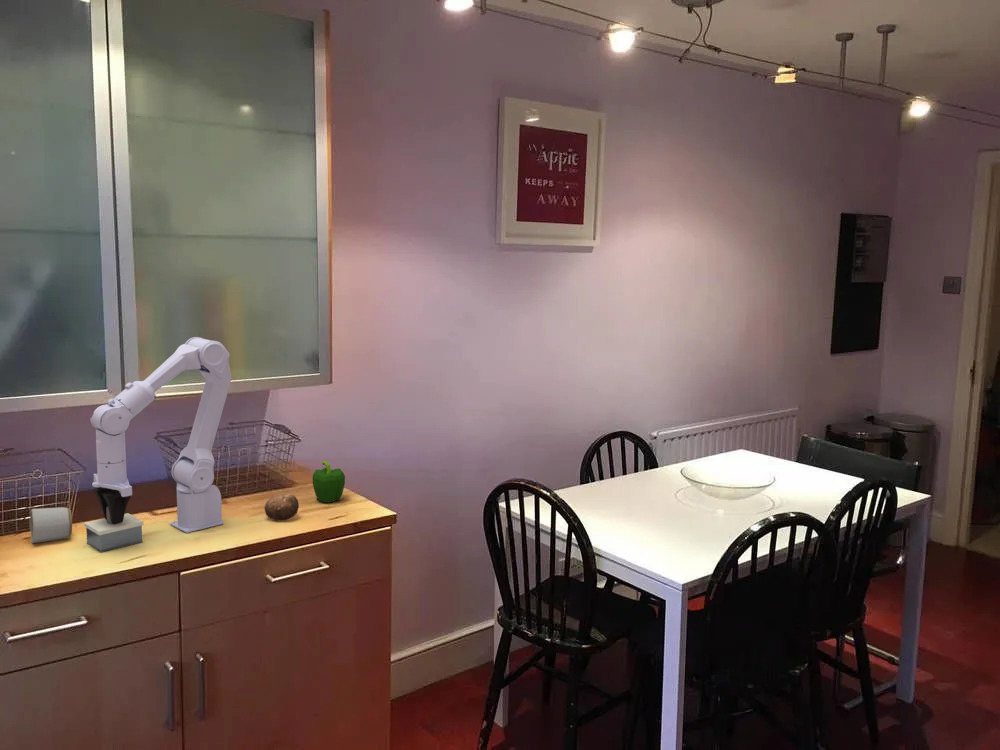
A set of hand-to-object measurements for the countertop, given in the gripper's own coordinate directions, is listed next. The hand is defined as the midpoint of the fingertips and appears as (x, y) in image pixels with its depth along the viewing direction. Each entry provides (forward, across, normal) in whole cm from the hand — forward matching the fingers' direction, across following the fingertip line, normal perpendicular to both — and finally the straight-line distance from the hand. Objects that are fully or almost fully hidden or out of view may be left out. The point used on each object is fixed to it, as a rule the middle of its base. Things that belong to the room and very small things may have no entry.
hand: (113, 520), depth 182 cm
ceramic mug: (+5, -13, -9) cm, 16 cm away
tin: (+5, 0, 0) cm, 5 cm away
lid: (+1, 0, 0) cm, 1 cm away
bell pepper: (+5, +6, +53) cm, 54 cm away
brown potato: (+5, +10, +36) cm, 38 cm away
